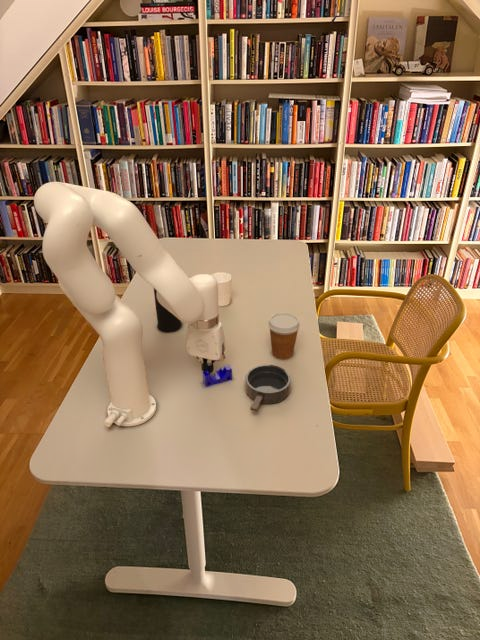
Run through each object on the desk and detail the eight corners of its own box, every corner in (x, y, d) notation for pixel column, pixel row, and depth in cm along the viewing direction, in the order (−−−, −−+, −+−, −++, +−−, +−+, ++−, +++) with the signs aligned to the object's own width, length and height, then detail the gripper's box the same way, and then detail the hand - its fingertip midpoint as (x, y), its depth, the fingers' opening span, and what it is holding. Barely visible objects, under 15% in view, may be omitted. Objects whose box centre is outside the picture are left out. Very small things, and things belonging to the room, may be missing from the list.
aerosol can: (177, 333, 157) (172, 279, 147) (153, 331, 159) (147, 277, 148) (185, 320, 164) (180, 267, 154) (162, 318, 166) (156, 265, 155)
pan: (282, 409, 127) (283, 397, 124) (239, 398, 130) (239, 386, 128) (294, 381, 136) (295, 370, 134) (254, 372, 140) (254, 360, 138)
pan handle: (256, 411, 122) (256, 409, 122) (250, 410, 123) (250, 407, 122) (264, 396, 127) (264, 393, 127) (258, 394, 128) (258, 392, 127)
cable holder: (227, 372, 140) (226, 361, 138) (232, 379, 137) (231, 368, 135) (201, 380, 137) (200, 369, 135) (205, 387, 135) (205, 376, 133)
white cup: (231, 307, 172) (231, 282, 166) (209, 307, 172) (208, 282, 167) (232, 296, 178) (231, 272, 173) (211, 296, 179) (210, 272, 173)
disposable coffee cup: (260, 353, 148) (261, 320, 141) (280, 341, 154) (281, 308, 147) (285, 366, 142) (286, 332, 136) (304, 352, 148) (307, 319, 142)
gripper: (173, 321, 128) (178, 375, 138) (225, 331, 123) (227, 386, 133) (185, 307, 134) (189, 360, 144) (235, 317, 129) (236, 370, 139)
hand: (207, 373), depth 138 cm, fingers closed
